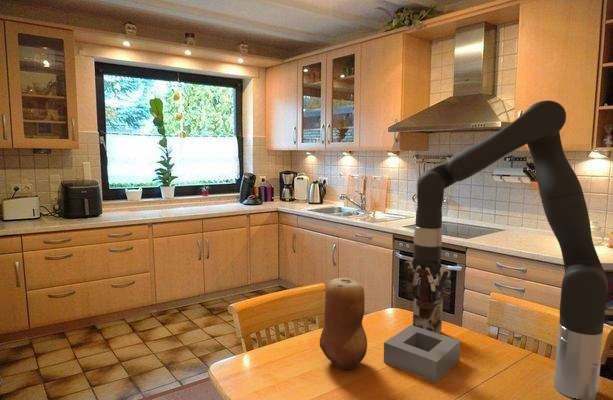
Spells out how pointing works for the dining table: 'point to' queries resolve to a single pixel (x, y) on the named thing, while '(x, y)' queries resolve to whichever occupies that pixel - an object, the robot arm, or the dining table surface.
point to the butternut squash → (344, 323)
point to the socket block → (422, 352)
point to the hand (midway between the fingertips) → (424, 300)
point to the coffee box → (435, 316)
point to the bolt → (424, 294)
